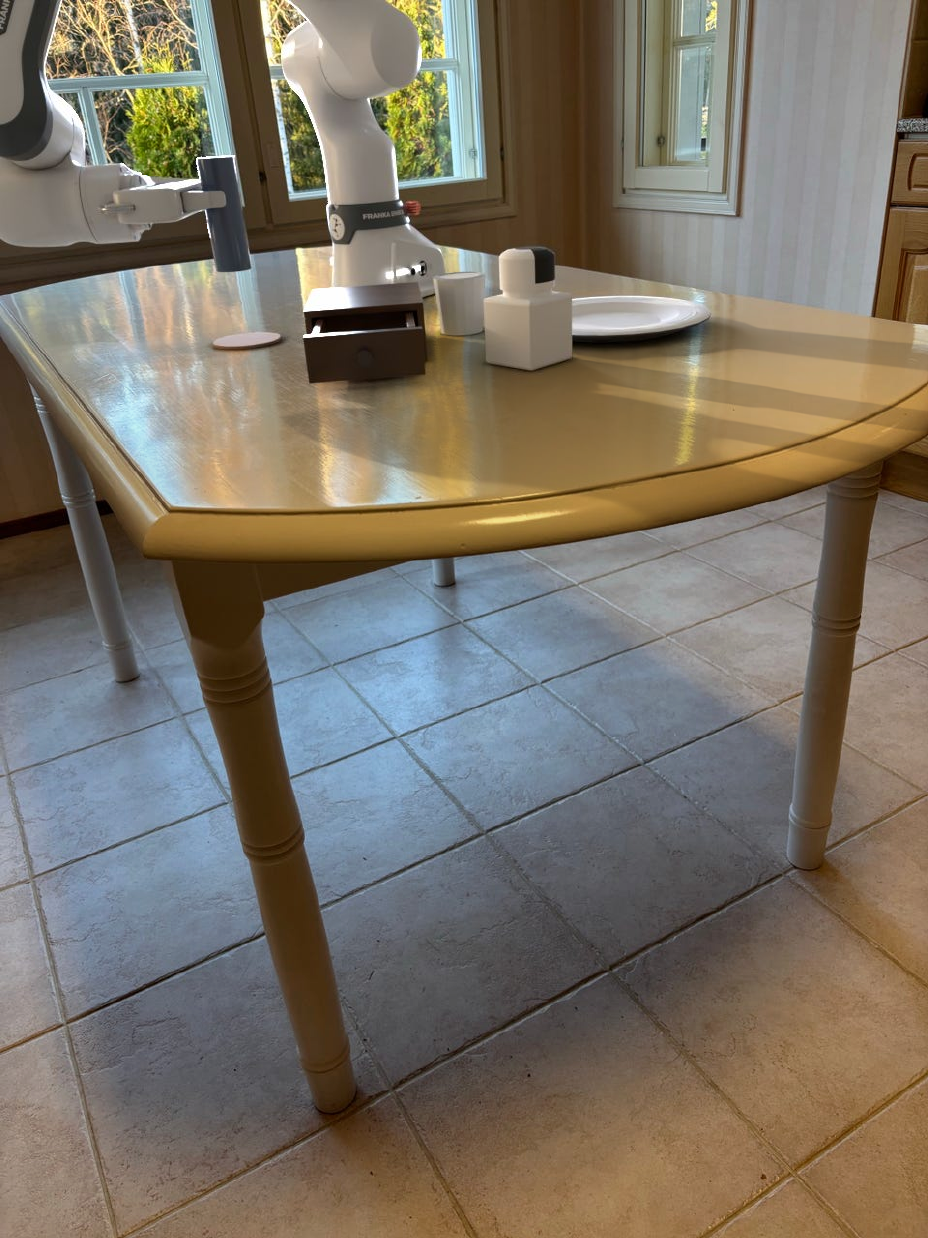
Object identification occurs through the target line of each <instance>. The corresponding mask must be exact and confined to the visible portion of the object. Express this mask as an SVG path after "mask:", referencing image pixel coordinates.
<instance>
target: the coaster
mask: <svg viewBox="0 0 928 1238" xmlns="http://www.w3.org/2000/svg"><path fill="white" fill-rule="evenodd" d="M281 340H282V335H281V334H279V333H277V332H270V331H253V332H243V333H235V334H229V335H226V336H222V337H219V338H216V339H215V340H213V341H212V346H213V347H214V348H215V349H219V350H225V351H226V350H229V351H235V350H238V351H239V350H250V349H256V348H262V347H267V346H271V345H275V344H276V343H279V342H281Z"/></svg>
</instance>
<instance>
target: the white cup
mask: <svg viewBox="0 0 928 1238" xmlns="http://www.w3.org/2000/svg"><path fill="white" fill-rule="evenodd" d="M433 281H434V288H435V300H436V308H437V313H438V319H439V325H440V326H439V327H440V334H443V335H445V336H468V335H475V334H479V333H481V332H483V331H484V299H485V293H486V292H485V291H486V273H484V272H480V271H479V272H477V271H454V272H453V271H452V272H446V274H441V275H437V276H435V277H433Z"/></svg>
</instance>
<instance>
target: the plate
mask: <svg viewBox="0 0 928 1238" xmlns="http://www.w3.org/2000/svg"><path fill="white" fill-rule="evenodd" d="M711 315H712V311H711V310H710V309H709V308H708V307H707V306H705V305H703V304H700V303H697V302H696V301H690V300H686V299H680V298H674V297H673V298H672V297H663V296H648V295H647V296H644V295H610V296H609V295H608V296H607V295H605V296H590V297H578V298H572V342H576V343H593V344H594V343H595V344H596V343H599V344H600V343H601V344H604V343H605V344H607V343H609V344H611V343H629V342H637V341H638V342H639V341H648V340H652V339H658V338H662V337H666V336H670V335H674V334H676V333H678V332H680V331H684V330H687V329H690V328H693V327H697V326H699V325H701V324H703V323H705V322H707V321H708V320H709V319H710V317H711Z"/></svg>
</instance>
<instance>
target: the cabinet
mask: <svg viewBox="0 0 928 1238" xmlns="http://www.w3.org/2000/svg"><path fill="white" fill-rule="evenodd" d="M399 311H412V312H413V318H414V324H415V327H422V331H423V344H424V357H425V362H428V346H427V334H426V322H425V321H426V319H425V307H424V300H423V297H422V295H421V291H420V287H419V283H418V282H410V283H396V284H382V285H368V286H354V287H340V288H331V287H327V288H314V289H312V290H311V292H310V295H309V297H308V299H307V302H306V304H305V307H304V309H303V313H302V314H303V318H304V325H305V326H304V327H305V333H306V334H305V335H312V332H313V329H314V326H315V323H316V320H317V317H330V316H344V315H358V314H371V313H385V312H399Z"/></svg>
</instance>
